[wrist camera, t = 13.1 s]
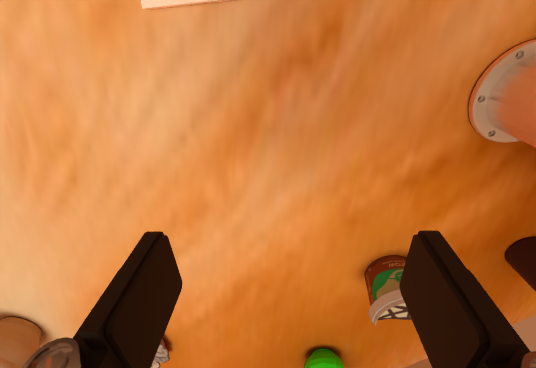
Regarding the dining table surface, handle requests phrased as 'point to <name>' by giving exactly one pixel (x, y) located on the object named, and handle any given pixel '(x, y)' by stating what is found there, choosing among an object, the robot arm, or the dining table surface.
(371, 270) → the food container
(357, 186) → the dining table surface
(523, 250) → the vinegar
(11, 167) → the dining table surface
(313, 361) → the plastic bottle
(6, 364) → the planter bowl
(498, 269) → the dining table surface
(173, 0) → the post board
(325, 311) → the dining table surface
